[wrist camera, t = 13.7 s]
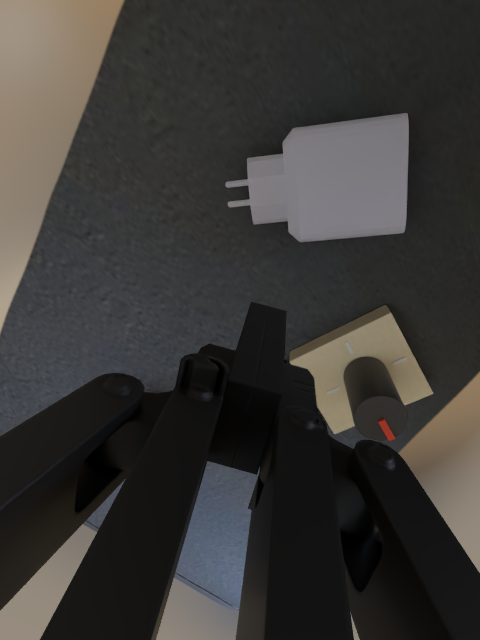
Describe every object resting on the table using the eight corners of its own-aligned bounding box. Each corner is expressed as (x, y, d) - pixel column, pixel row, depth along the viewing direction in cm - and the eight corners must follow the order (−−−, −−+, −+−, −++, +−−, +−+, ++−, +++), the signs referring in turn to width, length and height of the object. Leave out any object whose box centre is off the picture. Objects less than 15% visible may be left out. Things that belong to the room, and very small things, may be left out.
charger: (224, 141, 37) (395, 118, 35) (236, 241, 40) (393, 226, 38) (215, 137, 33) (410, 111, 30) (229, 250, 36) (406, 234, 33)
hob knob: (335, 367, 41) (344, 411, 34) (376, 349, 40) (395, 389, 32) (355, 401, 42) (368, 449, 35) (395, 383, 41) (417, 430, 33)
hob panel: (385, 304, 40) (391, 313, 38) (426, 381, 43) (434, 394, 40) (289, 351, 44) (289, 362, 41) (332, 421, 46) (334, 435, 43)
